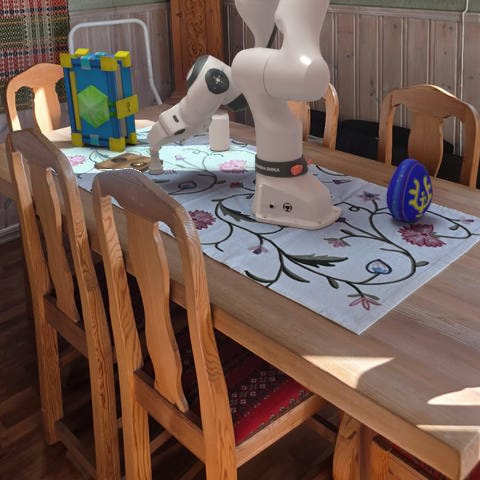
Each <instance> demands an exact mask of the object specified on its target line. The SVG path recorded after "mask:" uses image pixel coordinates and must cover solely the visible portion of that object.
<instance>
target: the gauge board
mask: <svg viewBox="0 0 480 480" xmlns="http://www.w3.org/2000/svg"><path fill="white" fill-rule="evenodd" d="M135 162H143V165H141V166H134V165H133V163H135ZM160 162H161V165H162V166H163V164H164V159H160ZM150 163H151V156H147V155H146V156H145V155H141V154H137V153H132V152H124V153H122V154H118V155H116V156H113V157H110V158H107V159H105V160H103V161H100V162H97V163H94V165H93V167H94V168H93V169H95V168H98V169H97V170H99V169H124V168H133V169H136V170H139V171H141V172H142V173H144V172H148V171H149V169H148V168H149V166H150Z"/></svg>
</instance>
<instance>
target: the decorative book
mask: <svg viewBox="0 0 480 480" xmlns="http://www.w3.org/2000/svg"><path fill="white" fill-rule="evenodd" d="M58 56H59V61H60V62H59V63H60V67H61V68H62V72H63V81H64V88H65V93H66V94H65V95H66V103H67V104H66V105H67V109H68V110H67V112H68V118H69V124H70V125H69V126H70V138H71V146H73V147H80V148H81V147H84V146H85V144H89V145H91V146H96V147H97V146H98V147H109V152H114V153H122V152H123V151H124V149H125V148H126V144H131V145H132V144H133V145H138V136H137V135H138V134H137V131H136V119H135V117H136V116H135V114H136V113H139V99H138V94H133V87H132V75H131V67H132V63H131V62H132V61H131V53H130V51H127V50H126V51H124V50H118V51H117V52H116V53H115V54H109V53H107V52H104V51H103V52H101V51H97V52H95V53H92V52H91V53H90V48H79V47H78V49H77V50H75V52H74V53H73V54H72V53H66V52H65V53H63V52H59V55H58Z"/></svg>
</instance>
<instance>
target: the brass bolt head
mask: <svg viewBox="0 0 480 480" xmlns="http://www.w3.org/2000/svg"><path fill="white" fill-rule="evenodd" d="M133 165H134V166H141V165H143V162H135V163H133Z"/></svg>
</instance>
